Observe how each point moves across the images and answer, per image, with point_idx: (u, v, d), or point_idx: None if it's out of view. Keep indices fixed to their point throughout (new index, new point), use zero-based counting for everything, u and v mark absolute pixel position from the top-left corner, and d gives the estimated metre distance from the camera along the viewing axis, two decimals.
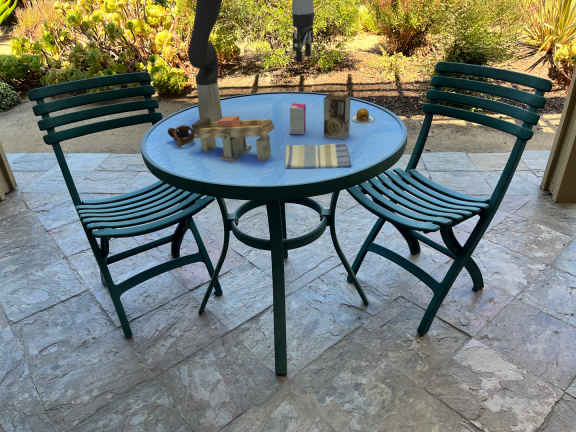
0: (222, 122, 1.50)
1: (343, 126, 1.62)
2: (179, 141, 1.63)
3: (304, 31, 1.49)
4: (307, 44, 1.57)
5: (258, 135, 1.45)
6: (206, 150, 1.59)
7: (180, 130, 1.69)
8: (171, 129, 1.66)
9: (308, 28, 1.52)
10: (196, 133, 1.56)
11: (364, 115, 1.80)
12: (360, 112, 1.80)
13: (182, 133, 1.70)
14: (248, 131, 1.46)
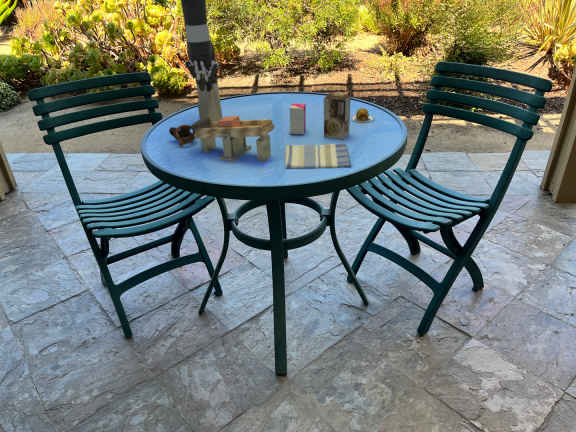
0: (222, 122, 1.50)
1: (343, 126, 1.62)
2: (181, 140, 1.64)
3: None
4: (200, 77, 1.47)
5: (258, 135, 1.45)
6: (206, 150, 1.59)
7: (181, 129, 1.69)
8: (173, 128, 1.67)
9: None
10: (196, 133, 1.56)
11: (364, 115, 1.80)
12: (360, 112, 1.80)
13: (183, 132, 1.71)
14: (248, 131, 1.46)
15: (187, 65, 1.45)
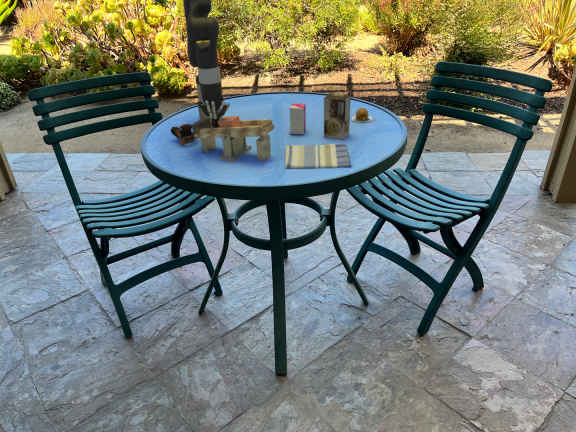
0: (222, 122, 1.50)
1: (343, 126, 1.62)
2: (182, 140, 1.65)
3: None
4: (213, 114, 1.53)
5: (258, 135, 1.45)
6: (206, 150, 1.59)
7: (183, 129, 1.70)
8: (174, 128, 1.67)
9: None
10: (196, 133, 1.56)
11: (363, 115, 1.80)
12: (359, 112, 1.80)
13: (185, 132, 1.71)
14: (248, 131, 1.46)
15: (200, 105, 1.52)
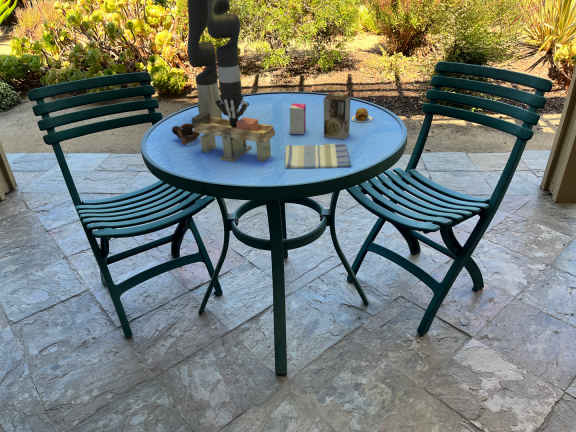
0: (241, 124, 1.47)
1: (343, 126, 1.62)
2: (184, 139, 1.65)
3: None
4: None
5: (259, 141, 1.46)
6: (206, 150, 1.59)
7: (184, 128, 1.70)
8: (175, 127, 1.68)
9: None
10: (195, 127, 1.55)
11: (363, 115, 1.80)
12: (359, 112, 1.80)
13: (186, 131, 1.72)
14: (249, 135, 1.46)
15: (218, 104, 1.48)
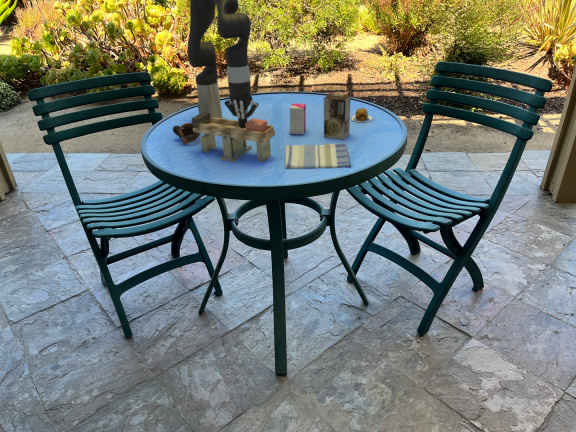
0: (250, 125, 1.46)
1: (343, 126, 1.62)
2: (185, 138, 1.65)
3: None
4: None
5: (259, 141, 1.46)
6: (206, 150, 1.59)
7: (185, 128, 1.71)
8: (176, 127, 1.68)
9: None
10: (195, 127, 1.55)
11: (362, 115, 1.80)
12: (359, 112, 1.80)
13: (187, 131, 1.72)
14: (249, 135, 1.46)
15: (227, 104, 1.47)
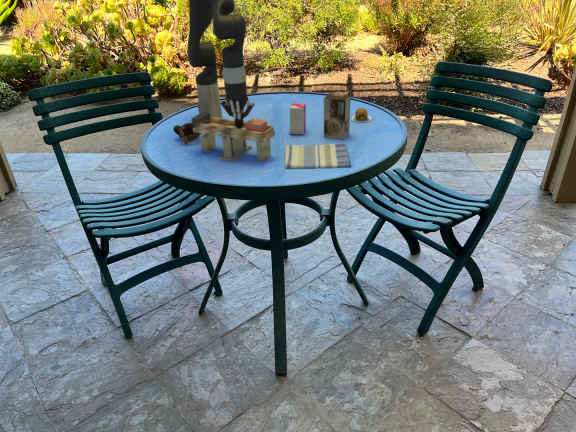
0: (250, 125, 1.46)
1: (343, 126, 1.62)
2: (185, 138, 1.66)
3: None
4: (237, 115, 1.49)
5: (259, 141, 1.46)
6: (206, 150, 1.59)
7: (185, 127, 1.71)
8: (177, 126, 1.68)
9: None
10: (195, 127, 1.55)
11: (362, 115, 1.80)
12: (358, 112, 1.80)
13: (187, 130, 1.72)
14: (249, 135, 1.46)
15: (223, 105, 1.48)
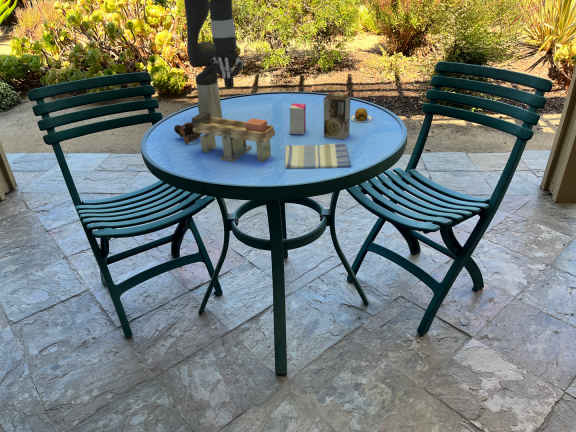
0: (250, 125, 1.46)
1: (343, 126, 1.62)
2: (186, 138, 1.66)
3: None
4: (226, 74, 1.42)
5: (259, 141, 1.46)
6: (206, 150, 1.59)
7: (186, 127, 1.71)
8: (178, 126, 1.69)
9: None
10: (195, 127, 1.55)
11: (362, 115, 1.80)
12: (358, 112, 1.80)
13: (188, 130, 1.73)
14: (249, 135, 1.46)
15: (212, 63, 1.41)
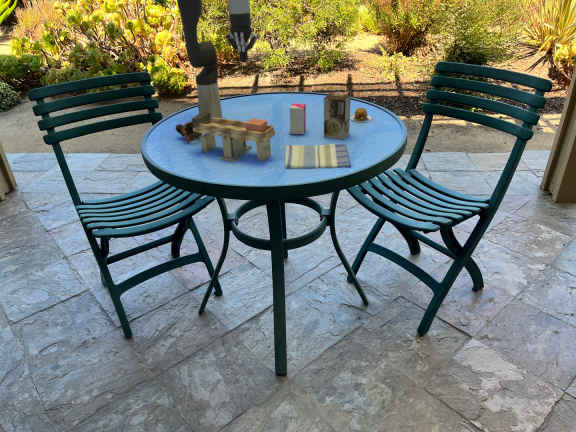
0: (250, 125, 1.46)
1: (343, 126, 1.62)
2: (188, 137, 1.67)
3: None
4: (241, 48, 1.56)
5: (259, 141, 1.46)
6: (206, 150, 1.59)
7: (188, 126, 1.72)
8: (179, 125, 1.69)
9: None
10: (195, 127, 1.55)
11: (361, 115, 1.80)
12: (358, 111, 1.80)
13: (189, 129, 1.73)
14: (249, 135, 1.46)
15: (228, 38, 1.55)
